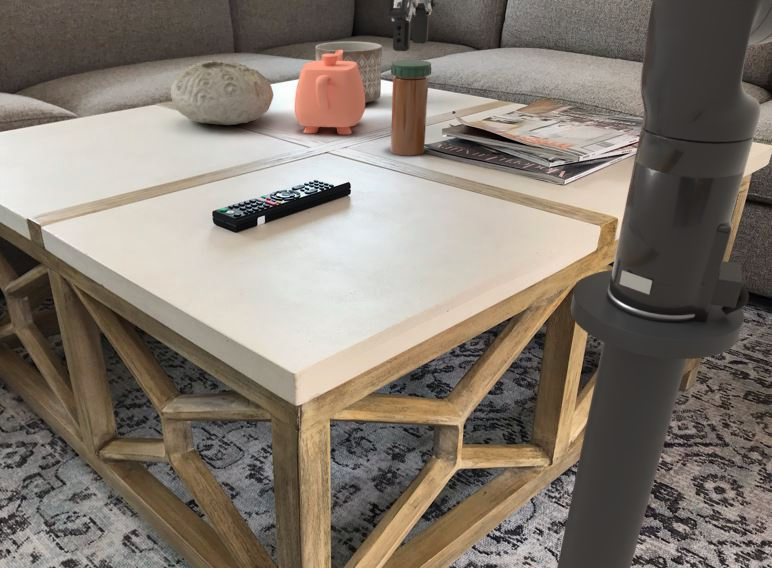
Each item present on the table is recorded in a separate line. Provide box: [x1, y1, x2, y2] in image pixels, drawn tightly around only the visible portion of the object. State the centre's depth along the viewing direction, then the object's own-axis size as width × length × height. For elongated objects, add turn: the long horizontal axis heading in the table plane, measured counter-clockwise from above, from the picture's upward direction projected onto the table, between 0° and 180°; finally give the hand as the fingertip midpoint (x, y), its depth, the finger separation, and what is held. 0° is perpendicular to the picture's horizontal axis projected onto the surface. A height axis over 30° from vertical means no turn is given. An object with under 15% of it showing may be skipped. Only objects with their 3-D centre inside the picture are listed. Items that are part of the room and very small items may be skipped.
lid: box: [390, 59, 432, 77], centre depth 108 cm, size 6×6×2 cm
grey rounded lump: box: [169, 59, 274, 126], centre depth 129 cm, size 18×18×10 cm
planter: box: [314, 41, 383, 104], centre depth 143 cm, size 13×13×10 cm
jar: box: [390, 75, 430, 157], centre depth 111 cm, size 5×5×12 cm
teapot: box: [294, 50, 366, 135], centre depth 125 cm, size 20×12×12 cm, turn 170°
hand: (410, 46), depth 106 cm, fingers open, 8 cm apart
